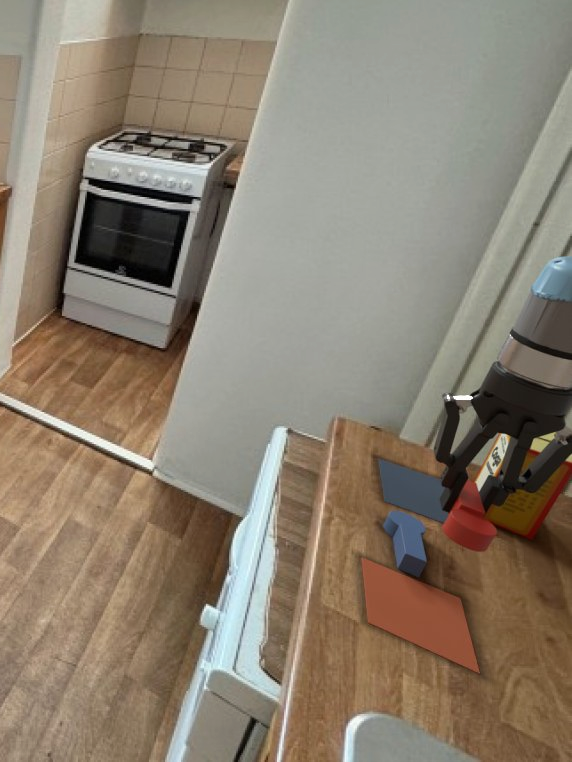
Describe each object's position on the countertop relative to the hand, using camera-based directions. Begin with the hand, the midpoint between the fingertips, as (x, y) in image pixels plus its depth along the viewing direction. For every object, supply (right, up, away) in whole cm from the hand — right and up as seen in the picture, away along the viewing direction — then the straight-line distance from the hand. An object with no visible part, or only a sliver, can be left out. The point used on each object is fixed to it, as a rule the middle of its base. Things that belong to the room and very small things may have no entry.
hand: (459, 511), depth 85 cm
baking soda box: (+24, -8, +16) cm, 30 cm away
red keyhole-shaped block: (-1, -1, -1) cm, 2 cm away
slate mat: (+14, -6, +20) cm, 25 cm away
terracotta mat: (-7, -14, -1) cm, 16 cm away
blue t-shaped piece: (+1, -10, +9) cm, 14 cm away
